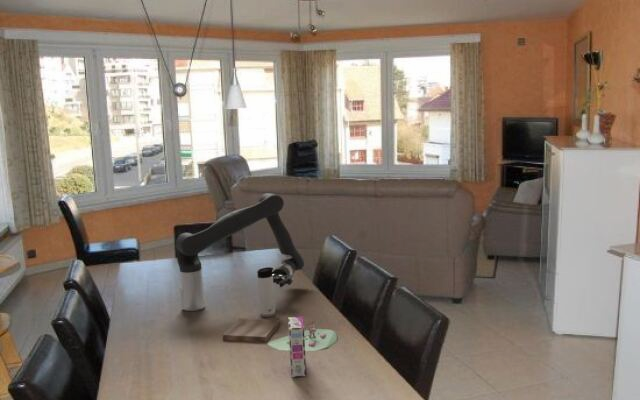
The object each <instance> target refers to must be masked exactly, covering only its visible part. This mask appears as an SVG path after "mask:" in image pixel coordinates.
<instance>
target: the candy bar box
mask: <svg viewBox="0 0 640 400" xmlns="http://www.w3.org/2000/svg"><path fill="white" fill-rule="evenodd" d="M287 320H288V321H287V324H288V335H289V346H290V350H289V357H290V371H291V378H295V379H296V378H305V377H307V361H306V360H307V359H306V358H307V357H306V351H305V337H304V330H305V326H304V321H303V320H304V319H303V316H301V315H300V316H293V317H292V316H291V317H287Z"/></svg>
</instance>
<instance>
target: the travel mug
mask: <svg viewBox="0 0 640 400" xmlns="http://www.w3.org/2000/svg"><path fill="white" fill-rule="evenodd" d="M273 271H274V267H271V266H270V267H268V266H267V267H263V268H262V267H261V268H260V269H258V270H257V286H258V300H259V311H260V316H261V317H263V318H271V317H273V316H276V302H275V288H274V287H275V285H274V283H273V274H272V272H273Z"/></svg>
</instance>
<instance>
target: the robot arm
mask: <svg viewBox="0 0 640 400" xmlns="http://www.w3.org/2000/svg"><path fill="white" fill-rule="evenodd" d="M284 204H285V203H284V199H283V197H282V196H281V195H279V194H276V193H269V192H268V193H264V194H262V195H261V196H260V197H259V199H258V202H257V203H256V204H254V205H251V206H248V207H243V208H240V209H237V210H233V211H231V212H229V213H227V214H224V215H222V216H221V217H220V218H218V219H217V220H216V221H214V223H213V224H211V225H210V226H209V227H208V228H206V229H204V230H201V231H199V232H195V233H191V232H183V233H181V234H179V235H178V237H177V238H176V242H175V250H176V257H177V264H178V267H179V275H180V283H181V284H180V285H181V287H180V288H179V291H180V292H179V293H180V294H179V295H180V303H181V304H180V305H181V310H183V311H187V312H195V311H200V310H203V309H204V308H205V307H206V301H205V291H204V290H205V289H204V280H203V279H204V278H203V268H202V267H203V266H202V263H201V260H200V258H199V254H200V253H201V252H202V251H204V250H206V249H207V248H209V247H211V246H212V245H214V244H216V243H218V242H220V241H222V240H224V239H227V238H228V237H230V236H232V235H235V234H237V233H238V232H239V233H240V232H241V231H242V230H244V229H246V228H248V227H250V226H251V225H254V224H255V223H257V222H259V221H260V220H263V219H266V221H267V223H268V225H269V228H271V231H272V233H273V236H274V239H275V241H276V244H277V246H278V248H279V251H280V254H281V255H286V256H289V257H285V258H283V259H281V264H279V265H278V266H276V268H275V269H273V270H272V274H273V285H274V284H275V285H278V286H279V288H283V287H284V286H287V285H288V286H289V285H291V284H292V283H293V282H294V273H295V272H296V271H301V270H303V269H304V268H305V261H304V260H305V259H304V258H303V257H302V255H301V254H300V252H299V251H298V250H297V248H296V247H295V245H294V242H293V239H292V237H291V234H290V231H289V230H288V228H287V227H286V226H285V223H284V222H283V220H282V219H281V217H280V212H281V211H282V209H283V207H284Z"/></svg>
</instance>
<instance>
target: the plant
mask: <svg viewBox="0 0 640 400" xmlns="http://www.w3.org/2000/svg"><path fill="white" fill-rule="evenodd" d="M316 321H317V318H315V319H311V320H310V321H309V323H307V324H306V327H305V326H304V337H305V352H314V351H321V350H325V349H326V350H327V349H328V348H331V347H332V346H333V345H334V344H336V342H337V341H338V335H337V333H336V332H335V331H334V330H332V329H327V328H325V329H324V328H316V327H317V326H316ZM313 323H314V324H313ZM312 324H313V325H312ZM267 345H268V346H269V347H270V348H272V349H275V350H278V351H290V346H289V334H288V335H285V336H283V337H280V338H278V339H274V340H271V341H269V342H267Z"/></svg>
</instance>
